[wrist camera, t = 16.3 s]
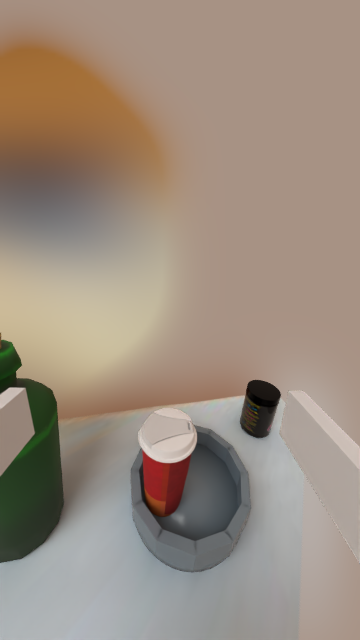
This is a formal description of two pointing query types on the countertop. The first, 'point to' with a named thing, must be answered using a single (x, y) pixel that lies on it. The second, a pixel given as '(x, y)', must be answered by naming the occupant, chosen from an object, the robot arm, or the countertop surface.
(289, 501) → the countertop surface
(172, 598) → the countertop surface
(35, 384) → the bottle
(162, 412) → the paper cup
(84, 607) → the countertop surface
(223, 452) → the bowl
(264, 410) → the supplement container
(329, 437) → the robot arm
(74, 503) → the countertop surface
